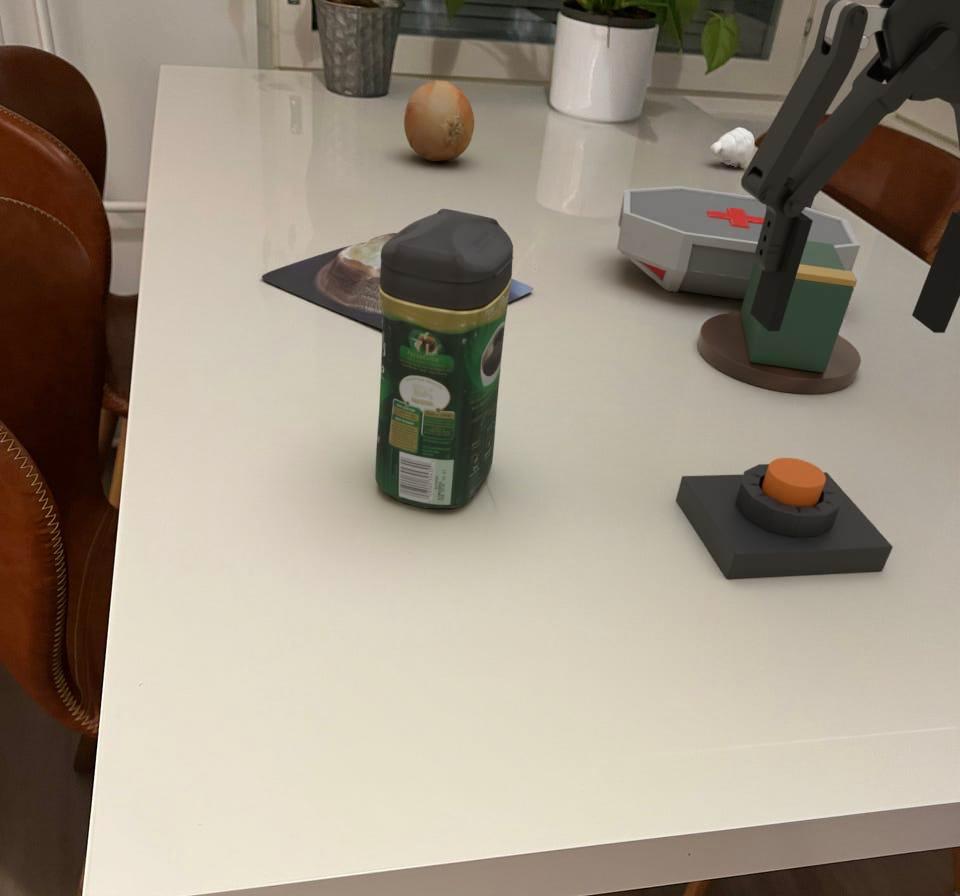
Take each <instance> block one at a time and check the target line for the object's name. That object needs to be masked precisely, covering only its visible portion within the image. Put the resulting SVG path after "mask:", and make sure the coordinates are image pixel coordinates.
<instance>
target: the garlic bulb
mask: <svg viewBox="0 0 960 896" xmlns="http://www.w3.org/2000/svg"><path fill="white" fill-rule="evenodd" d="M717 140H718V141H716V142H713V144H712V145H711V146H710V152H711V153H712V154H713V155H714V156H716V157H719V158H720V159H721V160H722V162H723V163H724V165H726V166H729V165H731V166H734V167H733V168H737V167H739V166H740V168H743V167H745V166H746V165H748V162H749V161H751V159H752V158H753V157H752V156H753V154H754V151H755V138H754V135H753V133H752V132H751V131H750V130H748V129H746V128H744V127H736V128H734V129H732V130H731V131H728V132H726V133H725V134H723V135H722V136H720V138H719V139H717ZM737 165H738V166H737ZM731 166H730V167H731Z"/></svg>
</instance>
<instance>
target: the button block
mask: <svg viewBox="0 0 960 896" xmlns="http://www.w3.org/2000/svg"><path fill="white" fill-rule="evenodd" d="M769 464H770V463H759V464H757V465H755V466H752V467H751V468H748V469H747V470H744V472H743V474H712V475H682V476H681V479H680V483H679V487H678V491H677V494H676V498H675V502H676V503H677V505H678V507H679V509H680V510H681V511H682V513H683V514H684V516H685V518H686V519H687V521H688V522H689V523H690V525H691V526H692V528H693V530H694V532H695V533H696V535H697V536H698V538H699V539H700V541H701V543H702V544H703V545H704V547H705V548H706V550H707V552H708V553H709V555H710V556H711V558H712V560H713V561H714V562H715V564H716V566H717V568H718V569H719V570H720V572H721V573H722V575H723V577H724V578H725V580H726V581H727V580H748V579H767V578H786V577H805V576H826V575H844V574H860V573H861V574H866V573H881V572H883V571H884V568H885V566H886V563H887V561H888V559H889V557H890V554H891V552H892V550H893V549H894V548H893V546H892V544H891V542H890V541H888V540H887V539H886V537H885V536H884V535H883V534H882V533H881V532H880V530H879V529H878V528H877V527H876V526H875V525H874V524H873V522H872V521H871V520H869V518H868V516H866V514H864V513H863V511H862V510H861V509H860V508H859V507H858V505H857V504H855V502H854V501H853V500H852V499H851V498H850V496H848V494H847V493H846V492H845V491H844V490H843V489H842V488H841V487H840V485H839V484H838V483H837V482H836V481H835V480H834V478H833V477H832V476H830V474H829V473H828V472H827V471H826V472H824V471H823V473H824V474H825V477H826V481H825V484H824V487H823V489H822V492H821V495H820V497H819V500H818V502H817V503H816V504H815V505H814V506H806V507H796V506H792V505H788V504H784V503H781V502H779V501H777V500H775V499H773V498H771V497H770V496H768V495H766V494H765V493H764V492H763V490H762V484H763V481H764V478H765V475H766V472H767V469H768V466H769Z"/></svg>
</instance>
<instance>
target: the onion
mask: <svg viewBox="0 0 960 896" xmlns="http://www.w3.org/2000/svg"><path fill="white" fill-rule="evenodd" d="M404 111H405V112H404V119H403V128H404V133H405V136H406V141H407V142H408V144H409V147H410V148H411V149H412V150H413V151H414V153H416V155H418V156H419V157H420V158H423V159H424V160H427V161H430V162H442V161H450V160H454V159H456V158H459V157H461V155H462V154H463V153H464V152H465V151H466V150H467V149H468V147H469V145H470V143H471V142H472V138H473V135H474V131H475V116H474V115H475V114H474V112H473V107H472V105H471V101H470V100H469V98H468V97H467V95H466V94H465V92H464V91H463V90H462V88H460V87H458V86H457V85H455V84H454V83H452V82H449V81H447V80H431V81H428V82H426V83H424V84H422V85H420V86H419V87H418V88H417V89H416V90H415V91H414V92H413V94H412V95H411V97H410V98H409V100H408V101H407V103H406V106H405V110H404Z"/></svg>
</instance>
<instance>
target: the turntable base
mask: <svg viewBox="0 0 960 896" xmlns="http://www.w3.org/2000/svg"><path fill="white" fill-rule="evenodd" d="M740 312H741V311H732V312H725V313H720V314H717V315H714V316H712V317H710V318H708V319H707V320H706V321H704V322H703V323H702V324H701V327H700V332H699V335H698V339H697V344H696V345H697V350H698V352H699V355H701V357H702V358H703V359H704V360H705V362H706V363H708V364H709V365H710V366H712V367H713V368H715V369H716V370H717V371H719V372H721V373H723V374H724V375H727V376H729V377H731V378H733V379H736V380H738V381H740V382H743V383H746V384H748V385H752V386H755V387H759V388H763V389H767V390H770V391H771V390H772V391H775V392H776V391H777V392H782V393H789V394H801V395H818V394H819V395H820V394H829V393H834V392H837V391H841V390H843V389H845V388H847V387H849V386H850V385H851V384H853V382H854V381H855V379H856V377H857V374H858V371H859V368H860V366H861V363H862V360H861V354H860V352H859V350H858V349H857V348H856V347H855V346H854V345H853V344H852V343H851V342H850V341H848V340H847V339H846V338H845V337H843V336H841V335H839V334H838V337H837V339H836V342H835V345H834V348H833V351H832V354H831V357H830V360H829V363H828V366H827V369H826V372H825V373H822V372H815V371H808V370H801V369H794V368H787V367H779V366H772V365H765V364H758V363H751V362H750V358H749V353H748V348H747V344H746V339H745V334H744V330H743V325H742V320H741V315H740Z"/></svg>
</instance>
